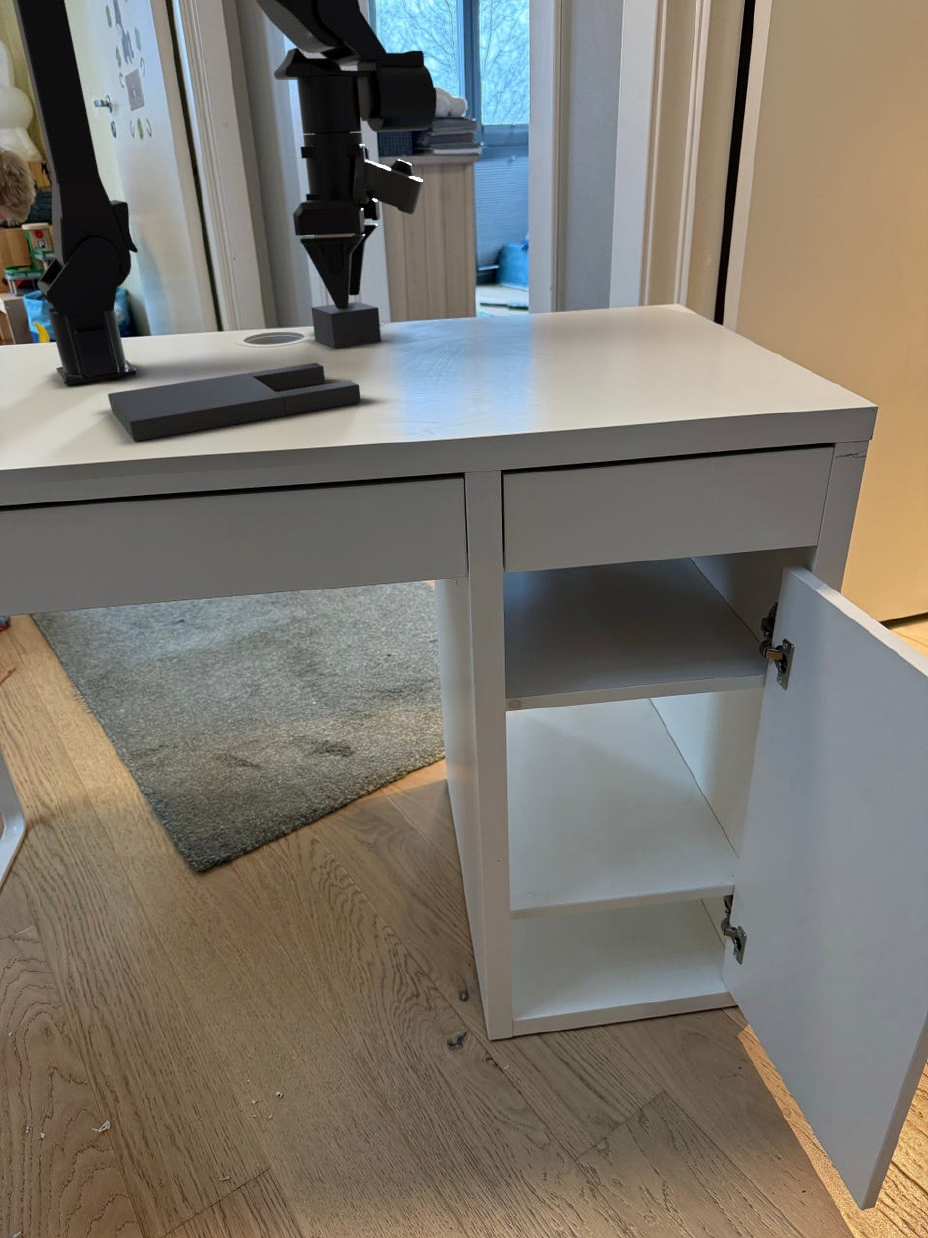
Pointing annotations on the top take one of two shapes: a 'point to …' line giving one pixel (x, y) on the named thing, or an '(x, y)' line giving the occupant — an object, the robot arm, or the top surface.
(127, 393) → the base pad
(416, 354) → the top surface
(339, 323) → the dark grey rectangular block
